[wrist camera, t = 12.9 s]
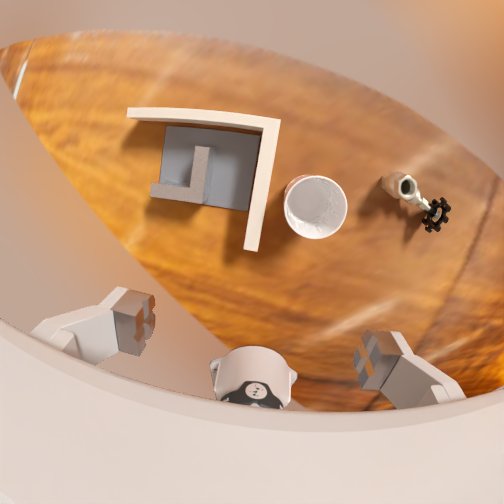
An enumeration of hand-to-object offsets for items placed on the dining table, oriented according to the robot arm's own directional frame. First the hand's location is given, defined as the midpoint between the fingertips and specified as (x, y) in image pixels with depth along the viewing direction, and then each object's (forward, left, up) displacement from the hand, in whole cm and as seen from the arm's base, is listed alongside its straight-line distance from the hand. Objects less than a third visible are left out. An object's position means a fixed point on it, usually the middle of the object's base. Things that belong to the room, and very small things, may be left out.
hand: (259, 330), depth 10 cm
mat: (+3, +10, -34) cm, 36 cm away
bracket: (+2, +12, -34) cm, 36 cm away
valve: (+5, -24, -34) cm, 42 cm away
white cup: (+1, -6, -34) cm, 35 cm away
